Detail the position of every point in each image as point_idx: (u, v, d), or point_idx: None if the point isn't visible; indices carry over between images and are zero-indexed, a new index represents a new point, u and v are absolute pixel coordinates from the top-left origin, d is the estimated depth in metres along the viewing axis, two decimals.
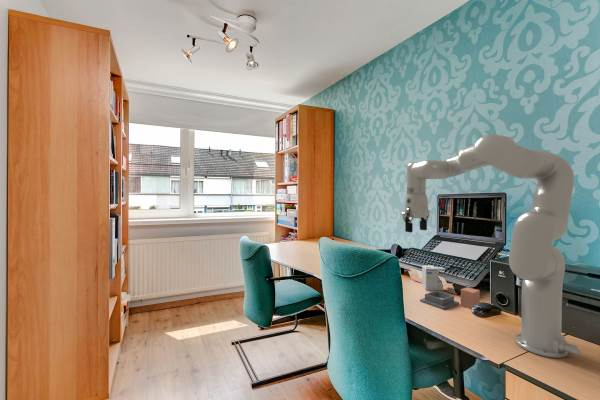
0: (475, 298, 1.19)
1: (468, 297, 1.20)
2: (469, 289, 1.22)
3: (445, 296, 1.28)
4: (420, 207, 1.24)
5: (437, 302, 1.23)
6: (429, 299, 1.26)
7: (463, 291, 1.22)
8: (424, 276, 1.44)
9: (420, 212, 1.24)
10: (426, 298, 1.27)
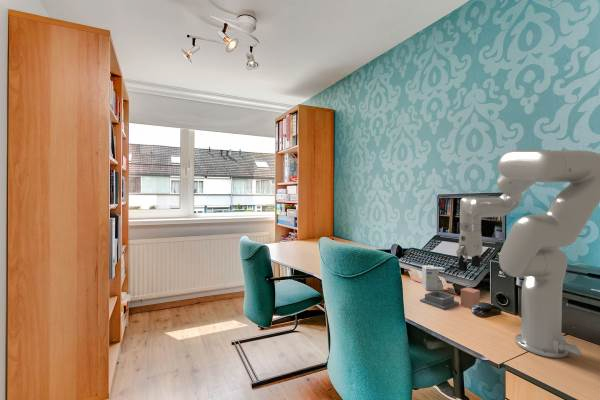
0: (475, 298, 1.19)
1: (468, 297, 1.20)
2: (469, 289, 1.22)
3: (445, 296, 1.28)
4: (475, 245, 1.19)
5: (437, 302, 1.23)
6: (429, 299, 1.26)
7: (463, 291, 1.22)
8: (424, 276, 1.44)
9: (475, 250, 1.19)
10: (426, 298, 1.27)
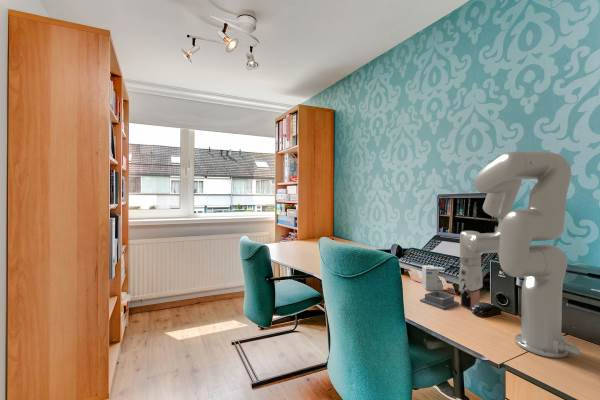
0: (475, 298, 1.19)
1: None
2: None
3: (445, 296, 1.28)
4: (475, 279, 1.19)
5: (437, 302, 1.23)
6: (429, 299, 1.26)
7: None
8: (424, 276, 1.44)
9: (475, 284, 1.19)
10: (426, 298, 1.27)
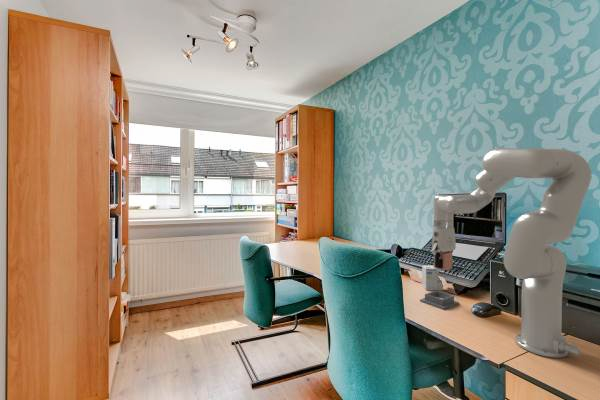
0: (447, 259, 1.23)
1: None
2: None
3: (445, 296, 1.28)
4: (448, 241, 1.22)
5: (437, 302, 1.23)
6: (429, 299, 1.26)
7: None
8: (424, 276, 1.44)
9: (448, 246, 1.22)
10: (426, 298, 1.27)
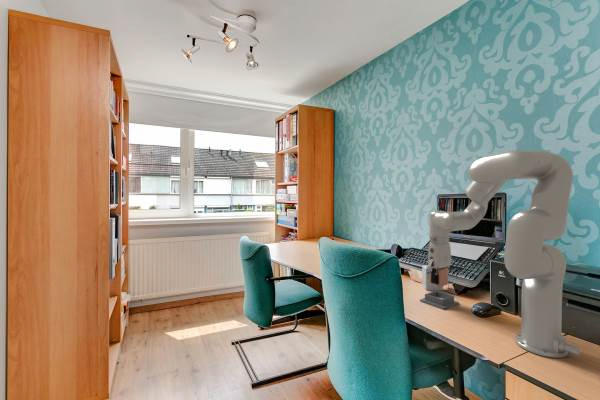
0: (443, 275, 1.24)
1: None
2: None
3: (445, 296, 1.28)
4: (443, 257, 1.23)
5: (437, 302, 1.23)
6: (429, 299, 1.26)
7: None
8: (424, 276, 1.44)
9: (443, 262, 1.23)
10: (426, 298, 1.27)
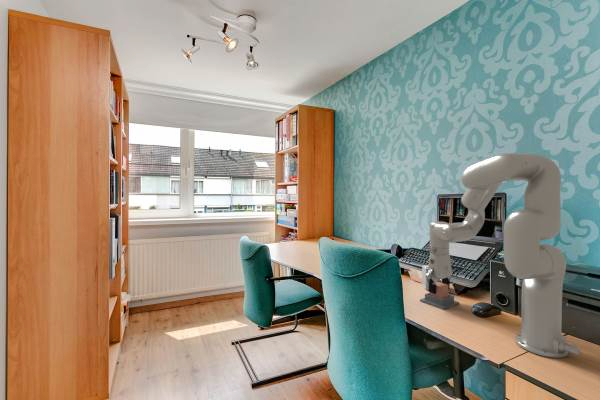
0: (443, 292, 1.24)
1: (437, 291, 1.25)
2: (438, 284, 1.27)
3: None
4: (444, 268, 1.23)
5: (437, 302, 1.23)
6: (429, 299, 1.26)
7: None
8: (424, 276, 1.44)
9: (444, 273, 1.23)
10: (426, 298, 1.27)
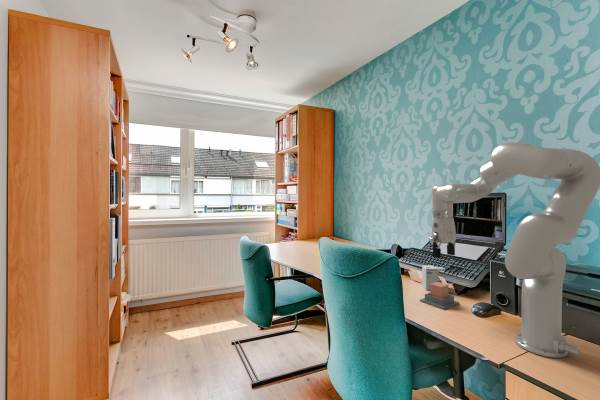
0: (443, 292, 1.24)
1: (437, 291, 1.25)
2: (438, 284, 1.27)
3: None
4: (448, 232, 1.20)
5: (437, 302, 1.23)
6: (429, 299, 1.26)
7: (433, 286, 1.26)
8: (424, 276, 1.44)
9: (448, 237, 1.20)
10: (426, 298, 1.27)
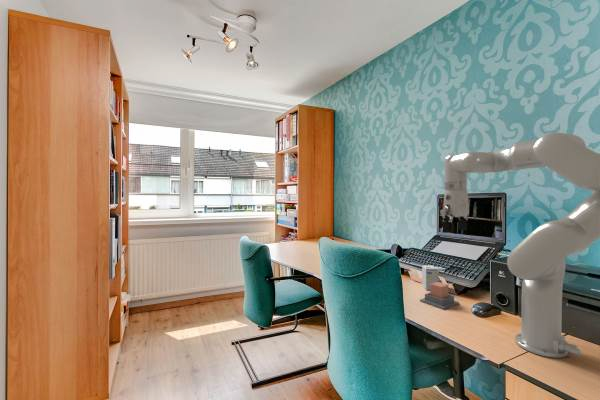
0: (443, 292, 1.24)
1: (437, 291, 1.25)
2: (438, 284, 1.27)
3: None
4: (461, 204, 1.11)
5: (437, 302, 1.23)
6: (429, 299, 1.26)
7: (433, 286, 1.26)
8: (424, 276, 1.44)
9: (461, 210, 1.11)
10: (426, 298, 1.27)
